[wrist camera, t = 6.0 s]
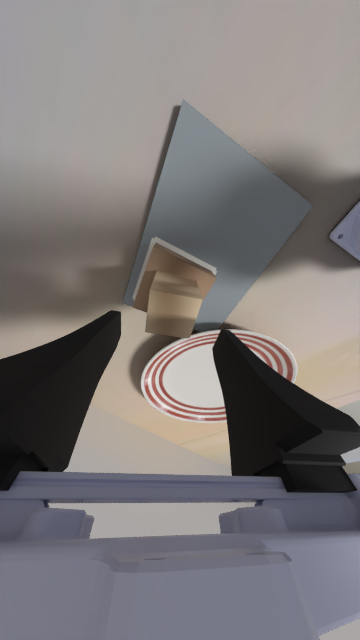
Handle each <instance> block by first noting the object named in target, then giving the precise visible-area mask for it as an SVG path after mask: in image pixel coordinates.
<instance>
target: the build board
mask: <svg viewBox="0 0 360 640" xmlns="http://www.w3.org/2000/svg"><path fill="white" fill-rule="evenodd" d="M312 207H313V205H312V204H311V203H309V202H308V201H307V200H306V199H305V198H303V197H302V196H301V195H300V194H298V193H297V192H296V191H295V190H294V189H292V188H291V187H290V186H289V185H287V184H286V183H285V182H284V181H283V180H281V179H280V178H279V177H278V176H276V175H275V174H274V173H273V172H272V171H270V170H269V169H268V168H267V167H265V166H264V165H263V164H262V163H261V162H259V161H258V160H257V159H256V158H254V157H253V156H252V155H251V154H250V153H248V152H247V151H246V150H245V149H243V148H242V147H241V146H240V145H238V144H237V143H236V142H235V141H234V140H232V139H231V138H230V137H229V136H227V135H226V134H225V133H224V132H223V131H221V130H220V129H219V128H218V127H216V126H215V125H214V124H213V123H212V122H210V121H209V120H208V119H207V118H205V117H204V116H203V115H202V114H201V113H199V112H198V111H197V110H196V109H194V108H193V107H192V106H191V105H190V104H188V103H187V102H186V101H185V100H183V102H182V105H181V108H180V112H179V115H178V118H177V122H176V125H175V128H174V132H173V135H172V139H171V142H170V145H169V149H168V152H167V155H166V159H165V162H164V165H163V169H162V172H161V176H160V179H159V182H158V186H157V189H156V192H155V196H154V199H153V202H152V206H151V209H150V213H149V216H148V219H147V223H146V226H145V229H144V233H143V236H142V239H141V243H140V246H139V250H138V253H137V256H136V260H135V263H134V266H133V270H132V273H131V276H130V280H129V283H128V286H127V290H126V293H125V297H124V300H123V303H125V304H128V305H130V306H133V304H134V301H135V298H136V295H137V292H138V289H139V286H140V283H141V281H142V278H143V275H144V272H145V269H146V266H147V263H148V260H149V257H150V254H151V251H152V249H153V246H154V245H155V244H156V243H157V244H159V245H161V246H163V247H165V248H167V249H169V250H171V251H173V252H175V253H177V254H179V255H181V256H183V257H185V258H187V259H188V260H190V261H192V262H194V263H196V264H198V265H200V266H202V267H204V268H206V269H208V270H210V271H212V272H213V274H214V275H215V277H216V278H217V279H216V280H215V282H214V284H213V285H212V287H211V288H210V290H209V292H208V293H207V295H206V297H205V298H204V300H203V301H202V303H201V306H200V309H199V312H198V315H197V318H196V321H195V324H194V327H193V329H194V330H197V331H199V332H205V331H212V330H218V329H219V327H220V326H221V325H222V323H223V322H224V321H225V320H226V318H227V317H228V316H229V314H230V313H231V312H232V310H233V309H234V308H235V307H236V305H237V304H238V303H239V301H240V300H241V299H242V298H243V296H244V295H245V294H246V292H247V291H248V290H249V288H250V287H251V286H252V285H253V283H254V282H255V281H256V279H257V278H258V277H259V276H260V274H261V273H262V272H263V270H264V269H265V268H266V267H267V265H268V264H269V263H270V261H271V260H272V259H273V257H274V256H275V255H276V254H277V252H278V251H279V250H280V248H281V247H282V246H283V245H284V243H285V242H286V241H287V239H288V238H289V237H290V236H291V234H292V233H293V232H294V230H295V229H296V228H297V226H298V225H299V224H300V223H301V221H302V220H303V219H304V217H305V216H306V215H307V214H308V212H309V211H310V210H311V208H312Z"/></svg>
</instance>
